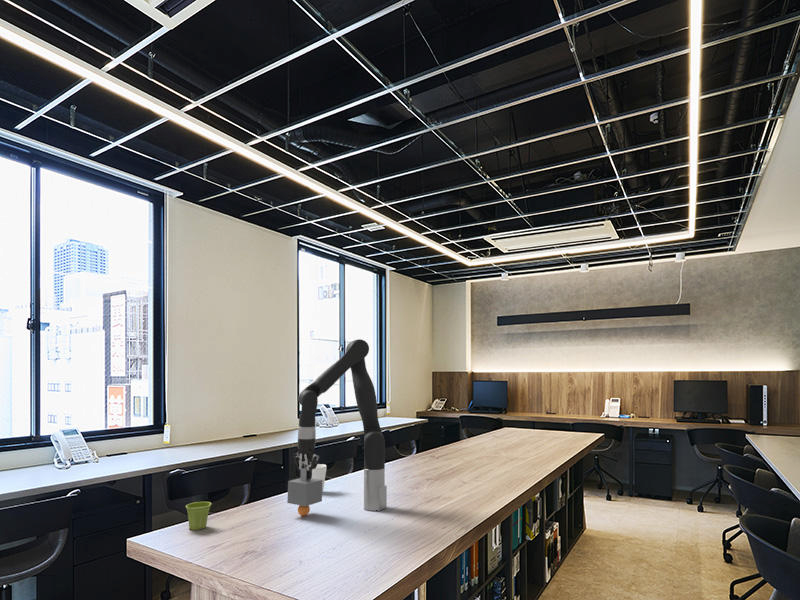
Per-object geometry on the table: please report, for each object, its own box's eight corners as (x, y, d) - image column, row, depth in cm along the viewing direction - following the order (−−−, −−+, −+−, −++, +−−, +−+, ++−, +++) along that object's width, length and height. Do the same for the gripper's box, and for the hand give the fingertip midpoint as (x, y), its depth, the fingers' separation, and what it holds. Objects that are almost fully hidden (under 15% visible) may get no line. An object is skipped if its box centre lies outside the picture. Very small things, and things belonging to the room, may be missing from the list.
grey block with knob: (321, 501, 216) (322, 467, 218) (305, 506, 207) (306, 471, 209) (304, 497, 221) (305, 465, 223) (287, 502, 212) (288, 468, 214)
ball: (312, 502, 215) (303, 502, 218) (303, 504, 211) (295, 504, 213) (312, 514, 214) (303, 514, 216) (304, 517, 210) (295, 516, 212)
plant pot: (206, 531, 193) (207, 507, 195) (181, 532, 193) (182, 508, 194) (213, 524, 203) (214, 501, 204) (189, 524, 202) (190, 502, 203)
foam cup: (322, 495, 248) (322, 467, 250) (304, 494, 250) (304, 467, 252) (328, 490, 258) (328, 464, 260) (311, 490, 259) (311, 463, 261)
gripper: (325, 437, 217) (324, 479, 215) (300, 435, 225) (299, 475, 222) (313, 439, 211) (312, 482, 209) (288, 437, 219) (287, 478, 216)
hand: (305, 478), depth 216 cm, fingers closed on grey block with knob, 3 cm apart
